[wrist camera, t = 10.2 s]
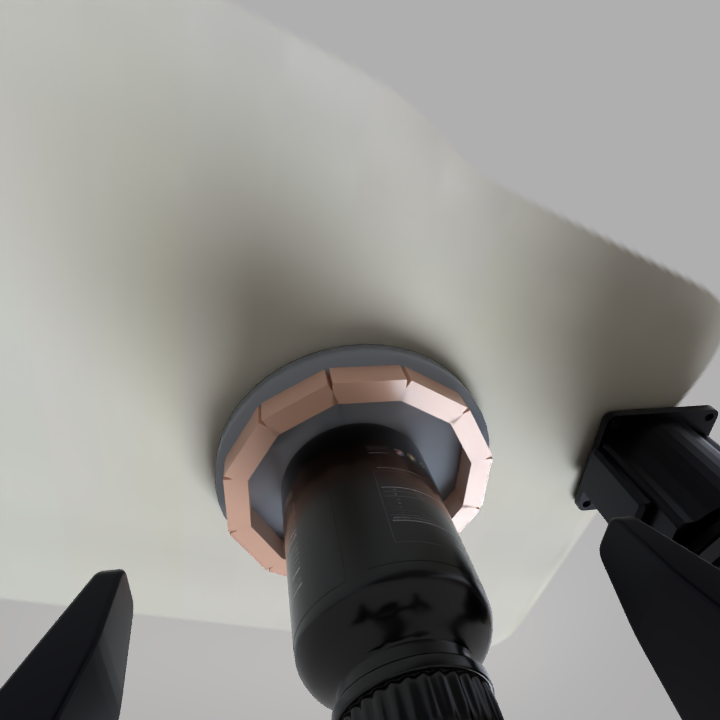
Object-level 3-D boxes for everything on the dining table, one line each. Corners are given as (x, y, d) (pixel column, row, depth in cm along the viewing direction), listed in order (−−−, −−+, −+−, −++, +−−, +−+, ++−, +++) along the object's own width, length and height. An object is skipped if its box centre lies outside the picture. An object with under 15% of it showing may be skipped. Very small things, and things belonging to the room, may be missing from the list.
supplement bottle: (365, 544, 27) (434, 841, 17) (251, 498, 24) (248, 822, 14) (453, 453, 25) (593, 728, 15) (339, 390, 22) (414, 677, 12)
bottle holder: (503, 339, 23) (525, 363, 21) (461, 542, 30) (475, 574, 28) (203, 350, 21) (198, 378, 19) (227, 567, 27) (225, 604, 25)
